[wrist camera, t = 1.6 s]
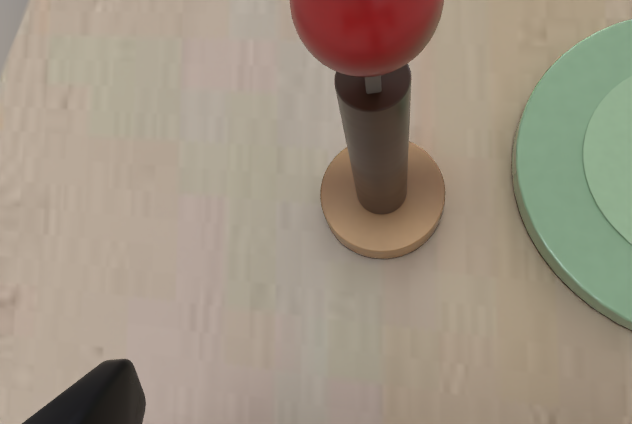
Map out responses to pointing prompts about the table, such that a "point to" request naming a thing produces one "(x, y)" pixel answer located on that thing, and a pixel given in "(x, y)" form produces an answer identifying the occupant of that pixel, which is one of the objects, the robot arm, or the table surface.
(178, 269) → the table surface
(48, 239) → the table surface
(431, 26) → the strawberry fork
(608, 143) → the plate
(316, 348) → the table surface
